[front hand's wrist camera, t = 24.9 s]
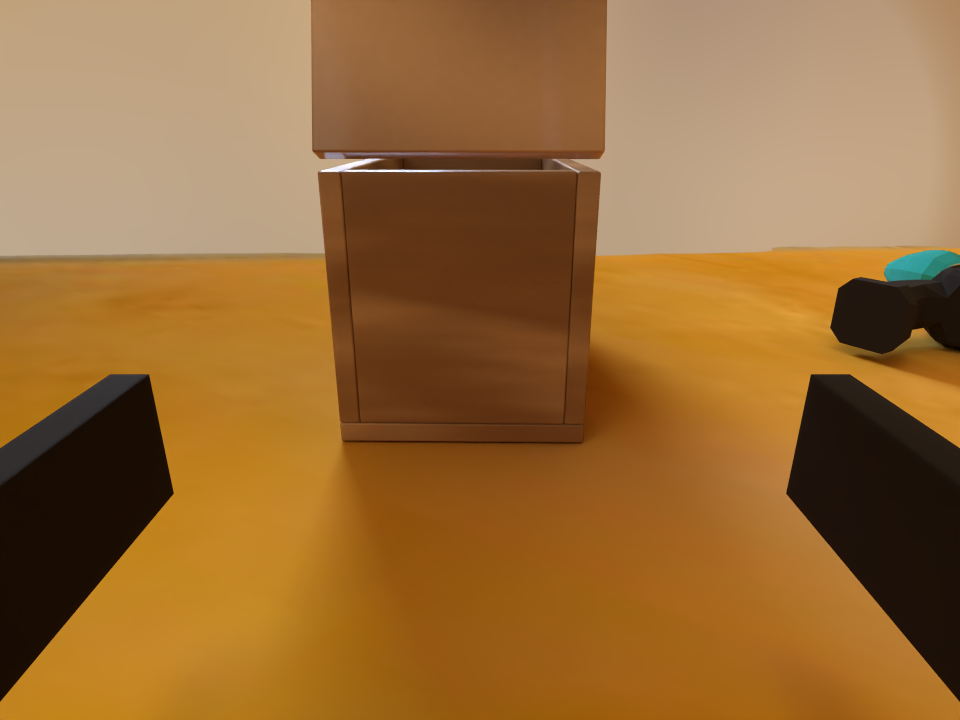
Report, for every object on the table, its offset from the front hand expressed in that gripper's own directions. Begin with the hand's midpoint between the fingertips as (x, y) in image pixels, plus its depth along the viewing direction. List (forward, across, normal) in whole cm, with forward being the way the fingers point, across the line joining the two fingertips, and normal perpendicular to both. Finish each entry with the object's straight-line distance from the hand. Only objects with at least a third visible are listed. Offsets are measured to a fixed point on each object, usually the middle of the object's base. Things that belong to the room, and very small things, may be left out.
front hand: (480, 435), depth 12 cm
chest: (+19, -1, -6) cm, 20 cm away
